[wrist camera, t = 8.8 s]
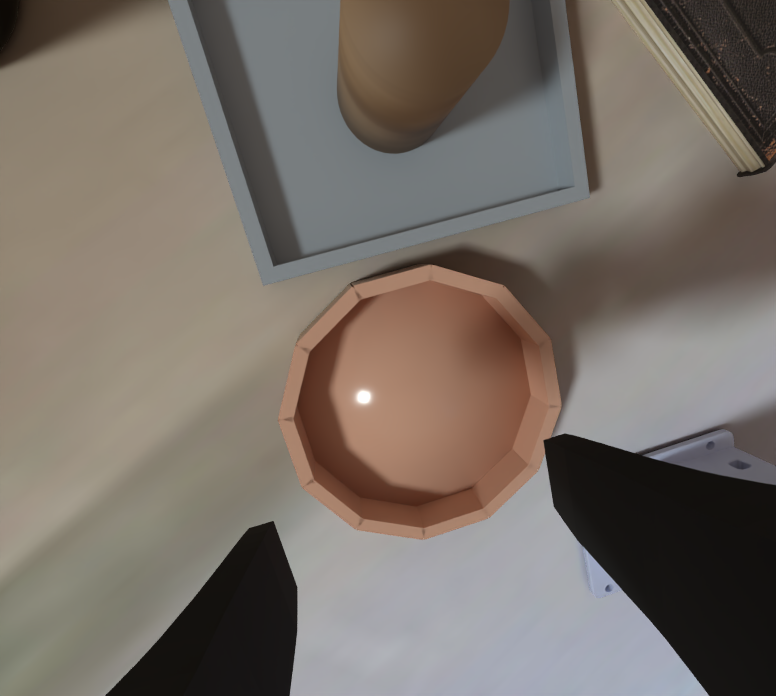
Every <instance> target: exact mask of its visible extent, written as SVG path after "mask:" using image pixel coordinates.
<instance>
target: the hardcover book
mask: <svg viewBox="0 0 776 696" xmlns="http://www.w3.org/2000/svg"><path fill="white" fill-rule="evenodd" d="M611 1H612V2H613V4H614V5H615V6H616V8H617V9H618V10H619V12H620V13H621V14H622V16H623V17H624V18H625V20H626V21H627V22H628V24H629V25H630V26H631V28H632V29H633V30H634V32H635V33H636V34H637V36H638V37H639V38H640V39H641V41H642V42H643V43H644V45H645V46H646V47H647V49H648V50H649V51H650V53H651V54H652V55H653V57H654V58H655V59H656V61H657V62H658V63H659V65H660V66H661V67H662V69H663V70H664V71H665V73H666V74H667V75H668V77H669V78H670V79H671V81H672V82H673V83H674V85H675V86H676V87H677V89H678V90H679V91H680V93H681V94H682V95H683V97H684V98H685V99H686V101H687V102H688V103H689V105H690V106H691V107H692V109H693V110H694V111H695V112H696V114H697V115H698V116H699V118H700V119H701V120H702V122H703V123H704V124H705V126H706V127H707V128H708V130H709V131H710V132H711V134H712V135H713V136H714V138H715V139H716V140H717V142H718V143H719V144H720V146H721V147H722V148H723V150H724V151H725V152H726V154H727V155H728V156H729V158H730V159H731V160H732V162H733V163H734V164H735V166H736V167H737V168H738V170H739V171H740V172H739V173H738V174H737V176H738V177H743V176H750V175H756V174H759V173H763V172H766V171H767V170H769V169H770V168H771V167H772V166H773V164H774V163H775V162H776V0H611Z"/></svg>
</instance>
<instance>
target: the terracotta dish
mask: <svg viewBox="0 0 776 696" xmlns="http://www.w3.org/2000/svg"><path fill="white" fill-rule="evenodd" d="M561 406H562V404H561V397H560V391H559V385H558V379H557V373H556V367H555V361H554V354H553V348H552V342H551V339H550V337H549V336H548V335H547V334H546V332H545V331H544V330H543V329H542V328H541V327H540V326H539V324H538V323H537V322H536V321H535V320H534V319H533V318H532V316H531V315H530V314H529V313H528V312H527V311H526V310H525V308H524V307H523V306H522V305H521V304H520V303H519V302H518V300H517V299H516V298H515V297H514V296H513V295H512V294H511V292H510V291H509V290H508V289H507V288H506V287H505V286H504V285H501V284H498V283H494V282H491V281H487V280H484V279H480V278H477V277H473V276H470V275H466V274H463V273H459V272H456V271H452V270H449V269H445V268H442V267H438V266H435V265H427V264H418V265H414V266H411V267H407V268H403V269H400V270H396V271H392V272H389V273H385V274H381V275H378V276H374V277H370V278H367V279H363V280H359V281H356V282H352V283H351V285H350V284H349V285H348V286H347V287H346V288H345V289H344V290H343V291H342V292H341V293H340V294H339V295H338V296H337V297H336V298H335V299H334V300H333V301H332V302H331V303H330V304H329V305H328V306H327V307H326V308H325V309H324V310H323V311H322V312H321V313H320V314H319V315H318V316H317V317H316V318H315V319H314V320H313V321H312V322H311V324H310V325H309V326H308V327H307V328H306V329H305V330H304V331H303V332H302V333H301V334H300V336H299V338H298V340H297V342H296V345H295V349H294V353H293V357H292V362H291V366H290V370H289V374H288V379H287V383H286V387H285V392H284V396H283V400H282V404H281V409H280V413H279V417H278V419H279V420H278V422H279V425H280V427H281V430H282V433H283V436H284V439H285V441H286V444H287V447H288V450H289V453H290V456H291V458H292V461H293V464H294V467H295V470H296V473H297V475H298V478H299V481H300V484H301V487H302V488H303V489H304V490H306V491H307V492H308V493H309V494H311V495H312V496H313V497H315V498H316V499H317V500H318V501H320V502H321V503H322V504H323V505H325V506H326V507H327V508H329V509H330V510H331V511H332V512H334V513H335V514H336V515H338V516H339V517H340V518H341V519H343V520H344V521H345V522H346V523H348V524H349V525H350V526H352V527H353V528H354V529H356V528H357V530H360V531H367V532H373V533H380V534H387V535H394V536H401V537H407V538H414V539H421V540H423V538H424V540H425V539H428V538H431V537H434V536H437V535H440V534H443V533H446V532H449V531H452V530H455V529H458V528H461V527H464V526H467V525H470V524H473V523H476V522H479V521H482V520H485V519H488V517H489V518H490V517H491V516H492V515H493V514H494V513H495V512H496V511H497V510H498V509H499V508H500V507H501V506H502V505H503V504H504V503H505V502H506V501H507V500H508V499H509V498H511V497H512V496H513V495H514V494H515V493H516V492H517V491H518V490H519V489H520V488H521V487H522V486H523V485H524V484H525V483H526V482H527V481H528V480H529V479H530V478H531V477H532V476H533V475H534V474H536V473H537V472H538V470H539V468H540V465H541V463H542V460H543V457H544V454H545V448H544V442H543V440H545V439H548V438H551V435H552V432H553V429H554V427H555V424H556V421H557V418H558V416H559V413H560V410H561ZM537 469H538V470H537Z"/></svg>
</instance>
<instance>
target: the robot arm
mask: <svg viewBox="0 0 776 696" xmlns="http://www.w3.org/2000/svg"><path fill="white" fill-rule="evenodd" d="M543 442H544V448H545V455H546V461H547V467H548V473H549V479H550V485H551V492H552V498H553V504H554V507H555V509H556V510H557V512H558V513H559V515H560V516H561V518H562V519H563V521H564V522H565V523H566V525H567V526H568V528H569V529H570V530H571V532H572V533H573V535H574V536H575V537H576V539H577V540H578V541H579V542H580V544H581V545H582V546H583V552H584V558H585V564H586V570H587V576H588V582H589V588H590V591H591V593H592V594H593V595H594V596H595V597H598V598H601V597H604V596H607V595H610V594H613V593H615V592H618V591H621V590H623V591H624V592H625V593H626V595H627V596H628V597H629V598H630V599H631V600H632V601H633V602H634V603H635V604H636V606H637V607H638V608H639V609H640V610H641V611H642V612H643V613H644V614H645V615H646V616H647V618H648V619H649V620H650V621H651V622H652V623H653V625H654V626H655V627H656V628H657V629H658V630H659V632H660V633H661V634H662V635H663V636H664V637H665V639H666V640H667V641H668V642H669V644H670V645H671V646H672V648H673V649H674V650H675V651H676V653H677V654H678V655H679V657H680V658H681V659H682V661H683V662H684V663H685V664H686V666H687V667H688V668H689V670H690V671H691V672H692V674H693V675H694V676H695V677H696V679H697V680H698V681H699V683H700V684H701V685H702V687H703V688H704V689H705V691H706V692H707V693H708V695H709V696H776V466H775V465H773V464H771V463H768V462H766V461H764V460H762V459H760V458H757V457H755V456H753V455H751V454H749V453H747V452H744V451H742V450H740V449H738V448H736V447H734V436H733V434H732V433H731V432H729V431H727V430H724V429H721V430H717V431H714V432H711V433H708V434H705V435H702V436H699V437H696V438H693V439H690V440H687V441H684V442H681V443H678V444H675V445H672V446H669V447H666V448H663V449H660V450H657V451H654V452H651V453H648V454H645V455H639V454H635V453H632V452H628V451H625V450H622V449H618V448H615V447H612V446H608V445H605V444H602V443H598V442H595V441H592V440H588V439H585V438H581V437H577V436H573V435H569V434H562V435H558V436H555V437H552V438H548V439H545V440H543ZM707 443H708V444H707ZM296 637H297V585H296V582H295V580H294V577H293V574H292V571H291V569H290V566H289V563H288V560H287V557H286V555H285V552H284V549H283V546H282V543H281V541H280V538H279V535H278V532H277V530H276V527H275V524H274V521H272V522H268V523H265V524H262V525H258V526H255V527H252V528H249V529H248V530H247V531H246V532H245V534H244V535H243V536H242V537H241V539H240V540H239V541H238V542H237V544H236V545H235V546H234V547H233V549H232V550H231V551H230V553H229V554H228V555H227V557H226V558H225V559H224V560H223V562H222V563H221V564H220V566H219V567H218V568H217V569H216V571H215V572H214V573H213V575H212V576H211V577H210V578H209V580H208V581H207V582H206V583H205V585H204V586H203V587H202V589H201V590H200V591H199V592H198V594H197V595H196V596H195V597H194V599H193V600H192V601H191V602H190V603H189V604H188V606H187V607H186V608H185V609H184V610H183V612H182V613H181V614H180V615H179V616H178V617H177V619H176V620H175V621H174V622H173V623H172V625H171V626H170V627H169V628H168V629H167V630H166V632H165V633H164V634H163V635H162V636H161V638H160V639H159V640H158V641H157V642H156V643H155V644H154V645H153V646H152V648H151V649H150V650H149V651H148V652H147V653H146V654H145V655H144V656H143V657H142V658H141V659H140V661H139V662H138V663H137V664H136V665H135V666H134V667H133V668H132V669H131V670H130V671H129V672H128V673H127V674H126V675H125V676H124V677H123V678H122V679H121V680H120V681H119V682H118V683H117V684H116V685H115V686H114V687H113V688H112V689H111V690H110V691H109V692H108V693H107V694H106V695H105V696H290V688H291V680H292V672H293V663H294V655H295V646H296Z"/></svg>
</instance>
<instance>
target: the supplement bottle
mask: <svg viewBox="0 0 776 696" xmlns="http://www.w3.org/2000/svg"><path fill="white" fill-rule="evenodd" d="M18 9H19V0H0V51H1V50H2V48H3V47H4V46H5V44H6V43H7V41H8V39H9V38H10V36H11V34H12V31H13V29H14V26H15V23H16V20H17V15H18Z"/></svg>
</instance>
